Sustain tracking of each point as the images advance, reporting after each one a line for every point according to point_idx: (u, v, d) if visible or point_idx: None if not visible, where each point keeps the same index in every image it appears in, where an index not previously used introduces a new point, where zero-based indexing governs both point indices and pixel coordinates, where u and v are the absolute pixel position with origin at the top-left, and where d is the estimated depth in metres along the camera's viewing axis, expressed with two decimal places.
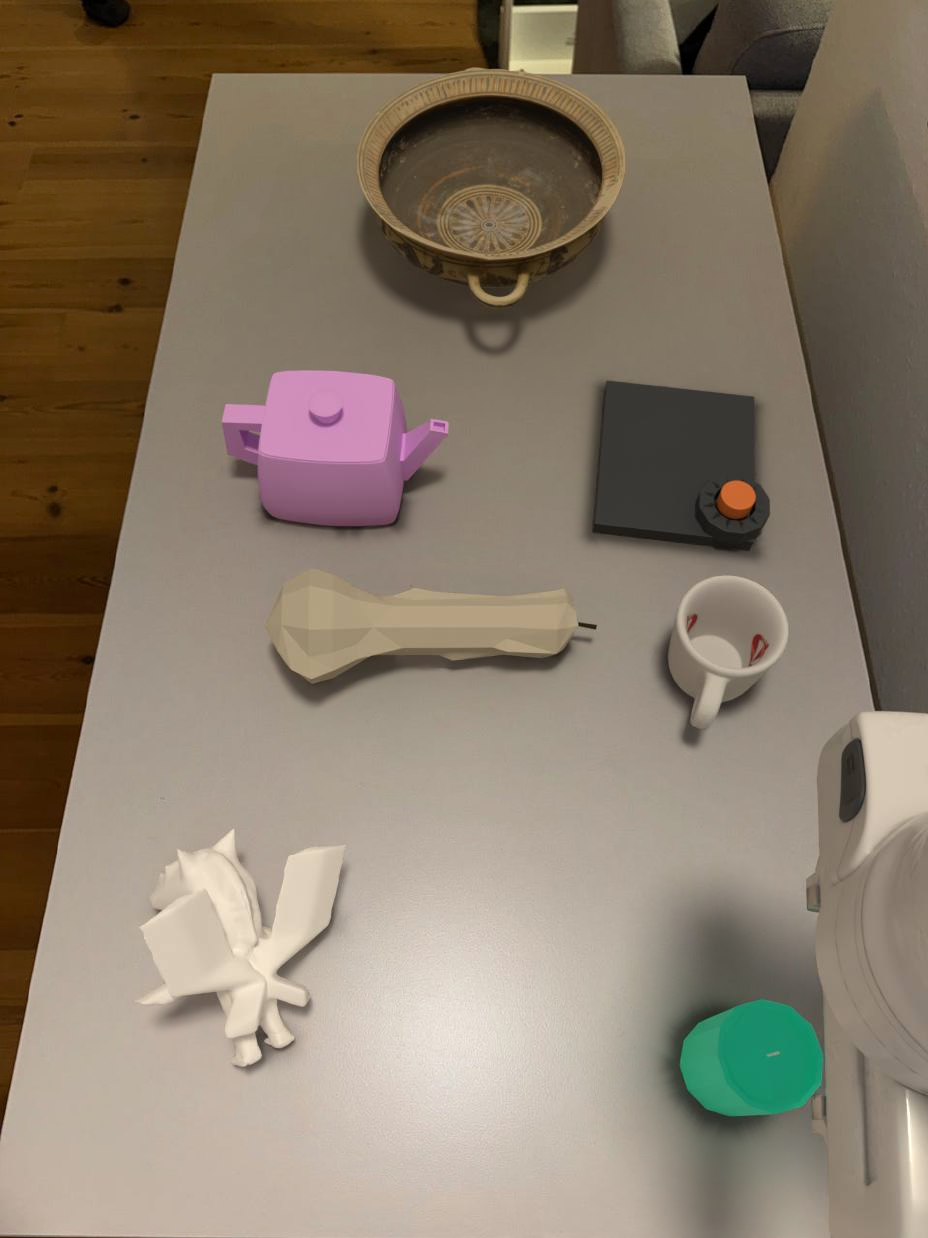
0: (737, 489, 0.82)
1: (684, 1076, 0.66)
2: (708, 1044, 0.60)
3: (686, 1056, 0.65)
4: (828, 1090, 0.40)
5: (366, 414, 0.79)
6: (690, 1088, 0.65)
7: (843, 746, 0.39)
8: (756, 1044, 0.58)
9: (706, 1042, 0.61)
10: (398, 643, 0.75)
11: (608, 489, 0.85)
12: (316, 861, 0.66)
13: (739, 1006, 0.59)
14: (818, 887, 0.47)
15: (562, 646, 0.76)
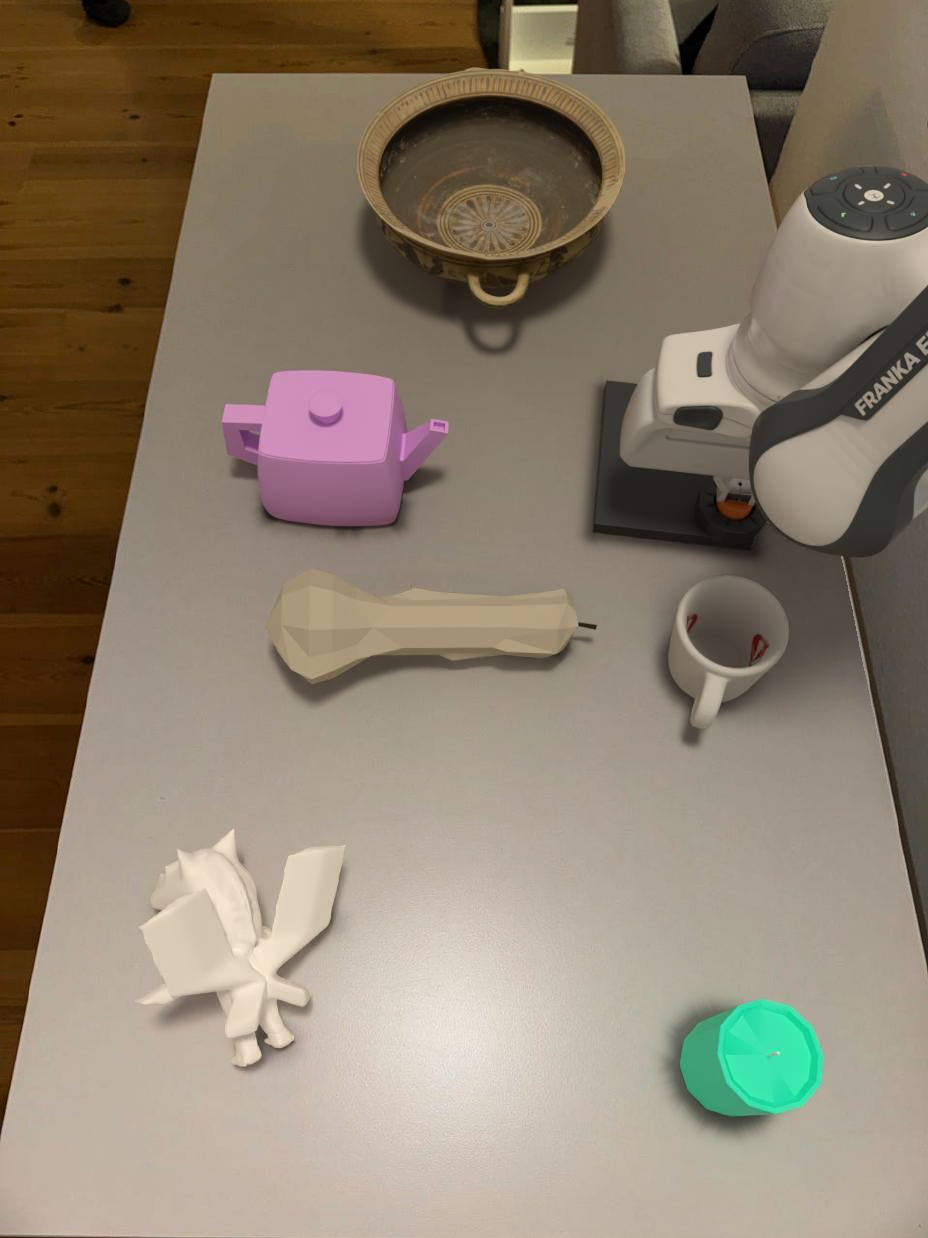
0: None
1: (684, 1076, 0.66)
2: (708, 1044, 0.60)
3: (686, 1056, 0.65)
4: None
5: (366, 414, 0.79)
6: (690, 1088, 0.65)
7: (669, 422, 0.70)
8: (756, 1044, 0.58)
9: (706, 1042, 0.61)
10: (398, 643, 0.75)
11: (608, 489, 0.85)
12: (316, 861, 0.66)
13: (739, 1006, 0.59)
14: (730, 491, 0.80)
15: (562, 646, 0.76)
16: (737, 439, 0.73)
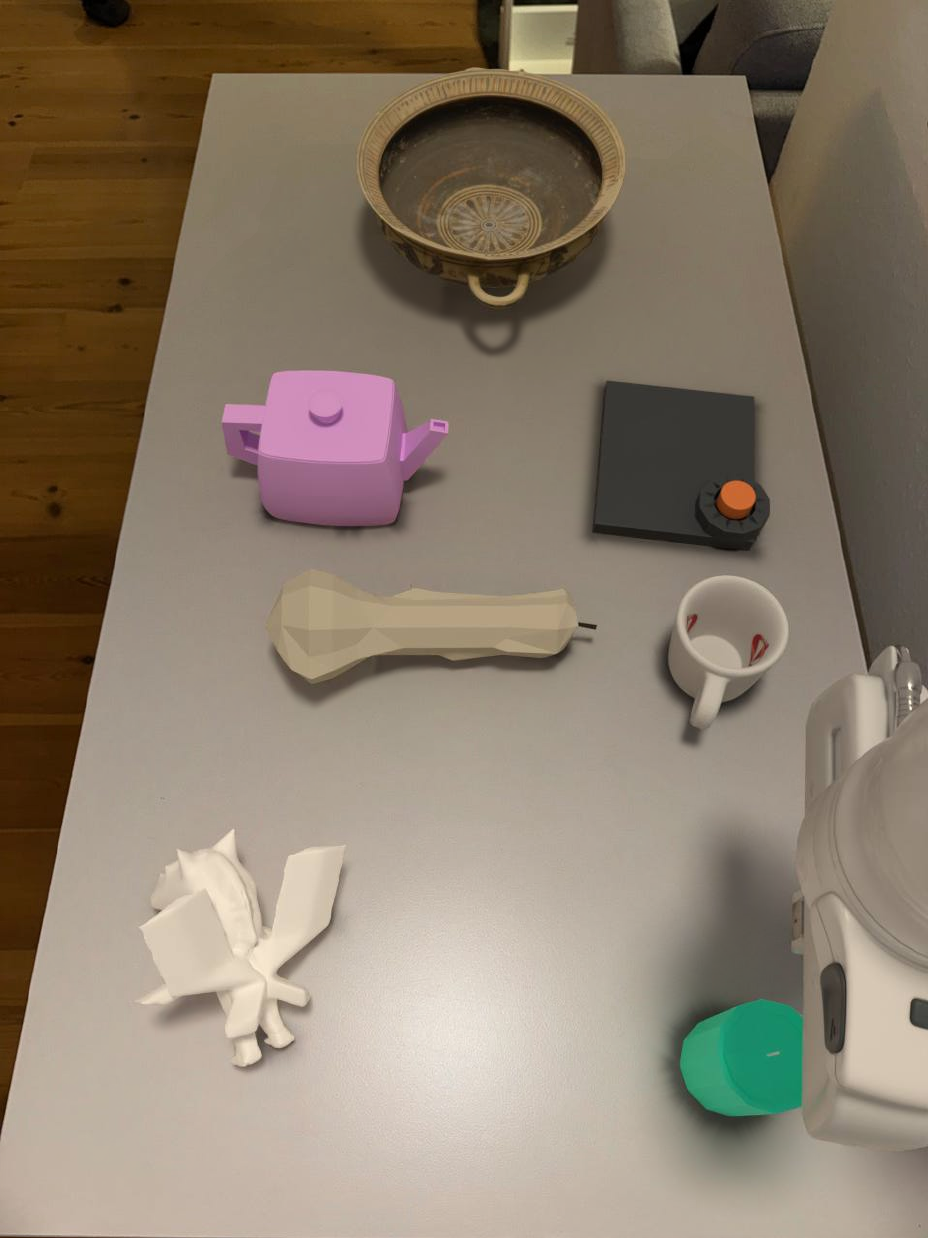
0: (737, 489, 0.82)
1: (684, 1076, 0.66)
2: (708, 1044, 0.60)
3: (686, 1056, 0.65)
4: None
5: (366, 414, 0.79)
6: (690, 1088, 0.65)
7: None
8: (756, 1044, 0.58)
9: (706, 1042, 0.61)
10: (398, 643, 0.75)
11: (608, 489, 0.85)
12: (316, 861, 0.66)
13: (739, 1006, 0.59)
14: None
15: (562, 646, 0.76)
16: None
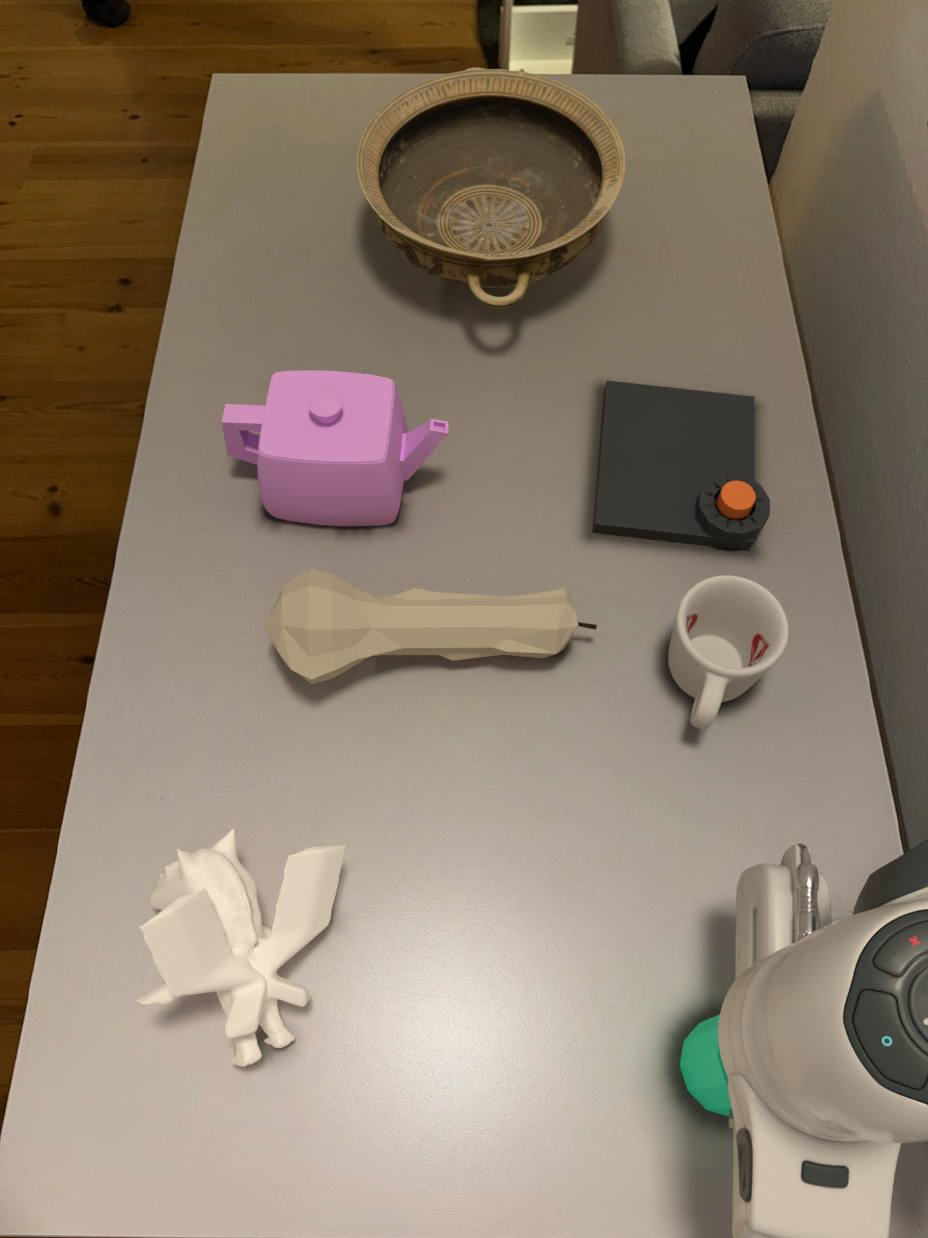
0: (737, 489, 0.82)
1: (684, 1076, 0.66)
2: (708, 1045, 0.60)
3: (686, 1056, 0.65)
4: None
5: (366, 414, 0.79)
6: (690, 1088, 0.65)
7: None
8: None
9: (706, 1043, 0.61)
10: (398, 643, 0.75)
11: (608, 489, 0.85)
12: (316, 861, 0.66)
13: None
14: None
15: (562, 646, 0.76)
16: None
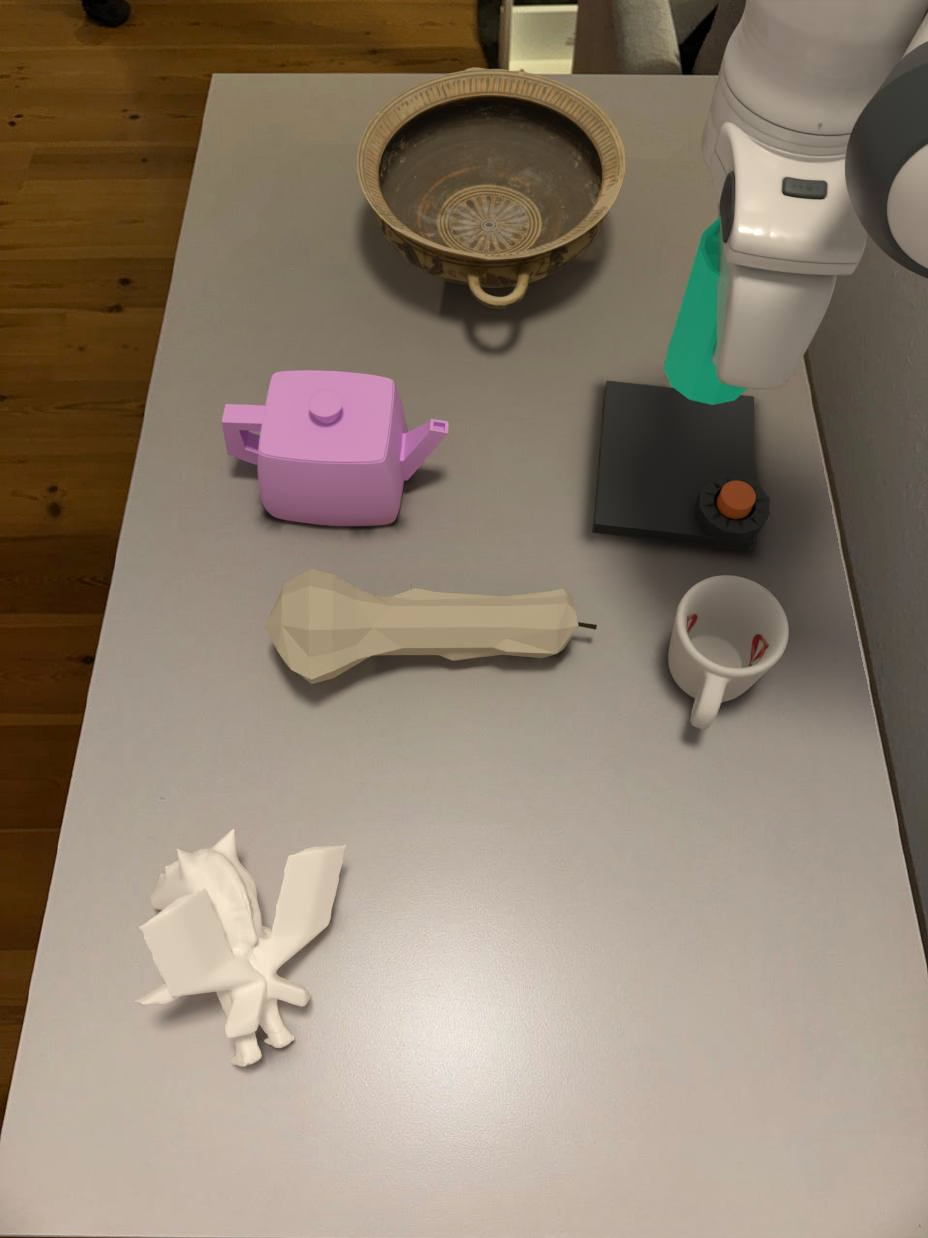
0: (737, 489, 0.82)
1: (668, 372, 0.68)
2: (691, 273, 0.62)
3: (670, 343, 0.67)
4: None
5: (366, 414, 0.79)
6: (674, 375, 0.67)
7: None
8: None
9: (689, 279, 0.63)
10: (398, 643, 0.75)
11: (608, 489, 0.85)
12: (316, 861, 0.66)
13: None
14: None
15: (562, 646, 0.76)
16: None
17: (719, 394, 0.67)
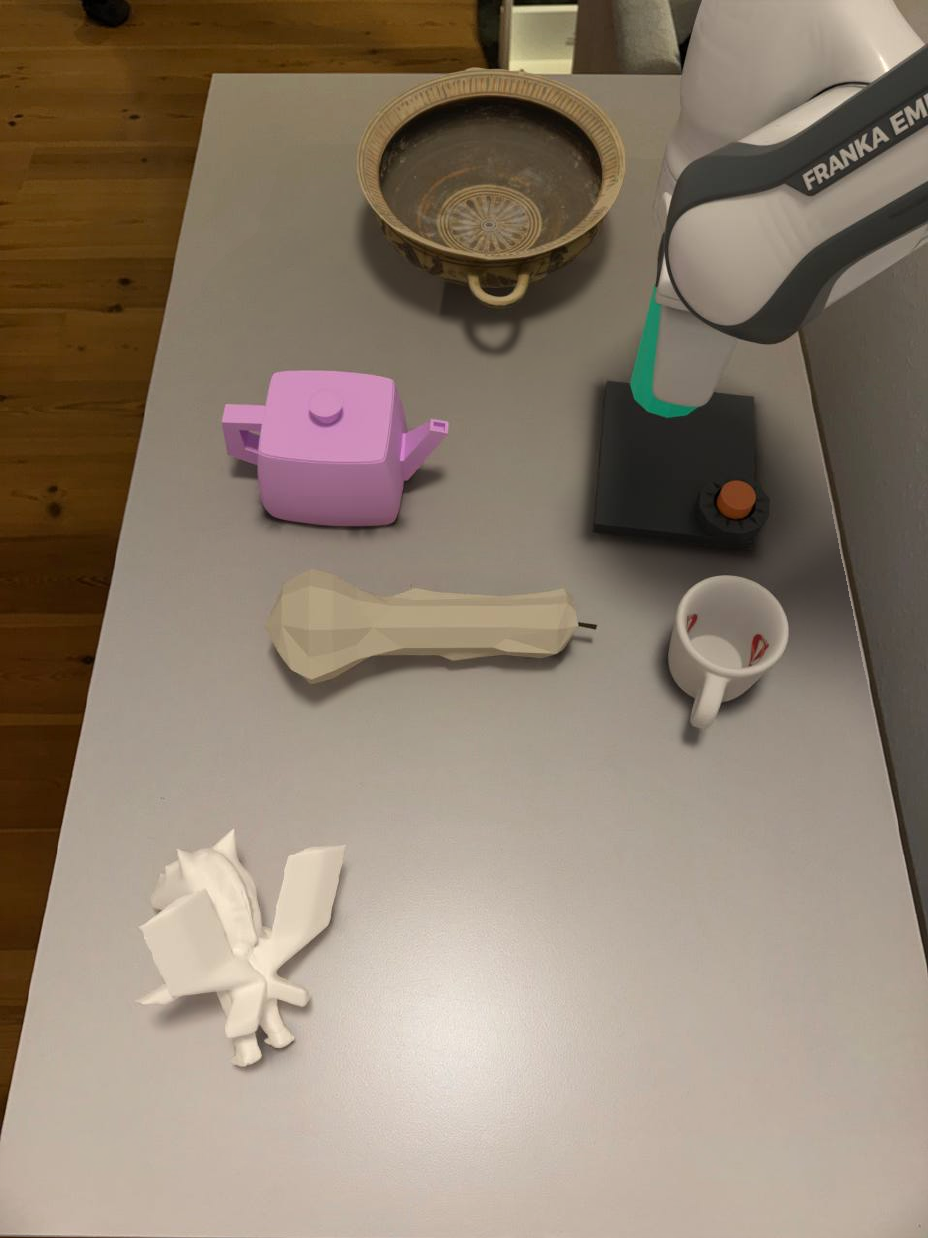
0: (737, 489, 0.82)
1: (632, 388, 0.81)
2: None
3: None
4: None
5: (366, 414, 0.79)
6: (636, 390, 0.80)
7: None
8: None
9: None
10: (398, 643, 0.75)
11: (608, 489, 0.85)
12: (316, 861, 0.66)
13: None
14: None
15: (562, 646, 0.76)
16: None
17: (672, 409, 0.79)
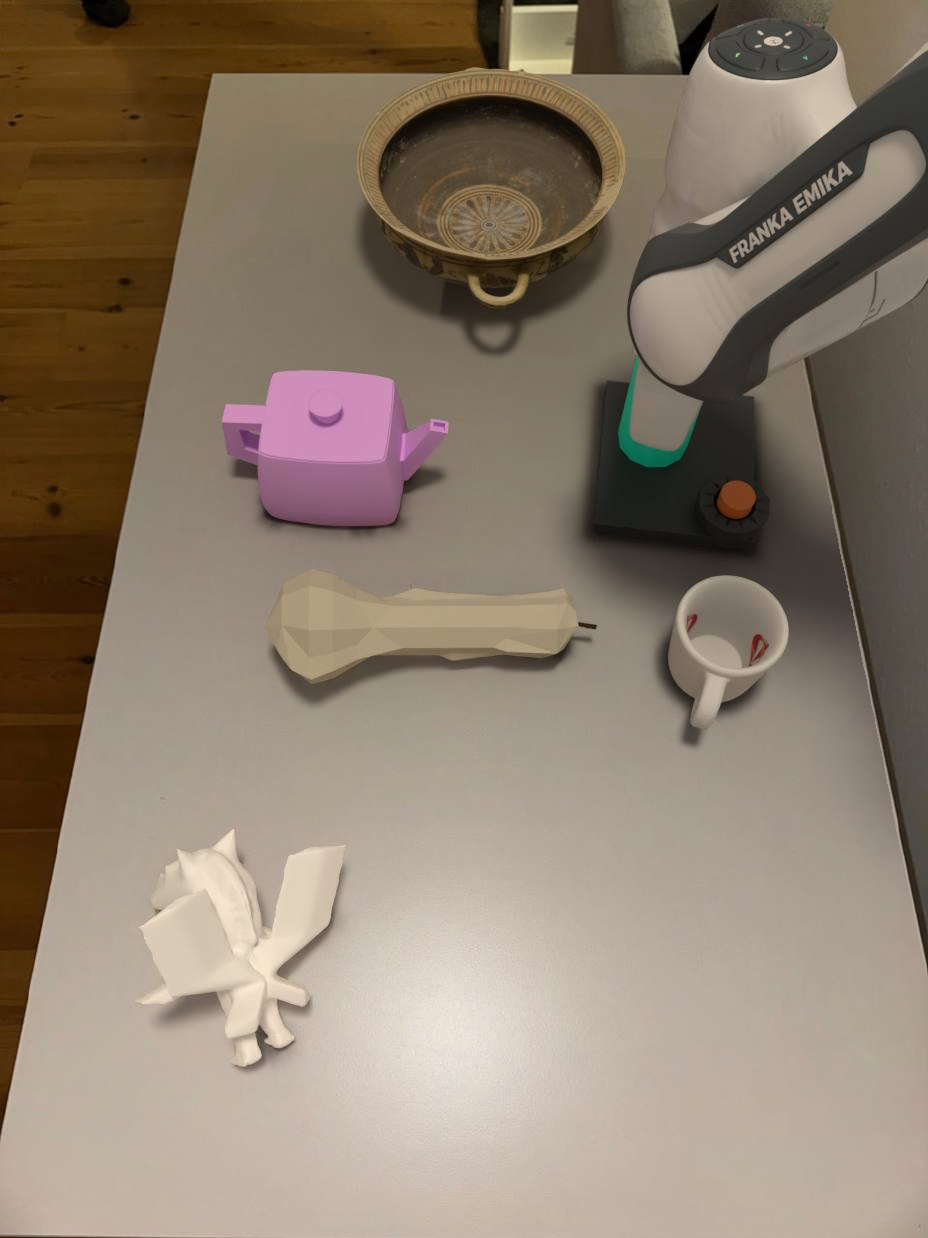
0: (737, 489, 0.82)
1: (619, 436, 0.87)
2: None
3: None
4: None
5: (366, 414, 0.79)
6: (621, 439, 0.86)
7: None
8: None
9: None
10: (398, 643, 0.75)
11: (608, 489, 0.85)
12: (316, 861, 0.66)
13: None
14: None
15: (562, 646, 0.76)
16: None
17: (651, 460, 0.85)
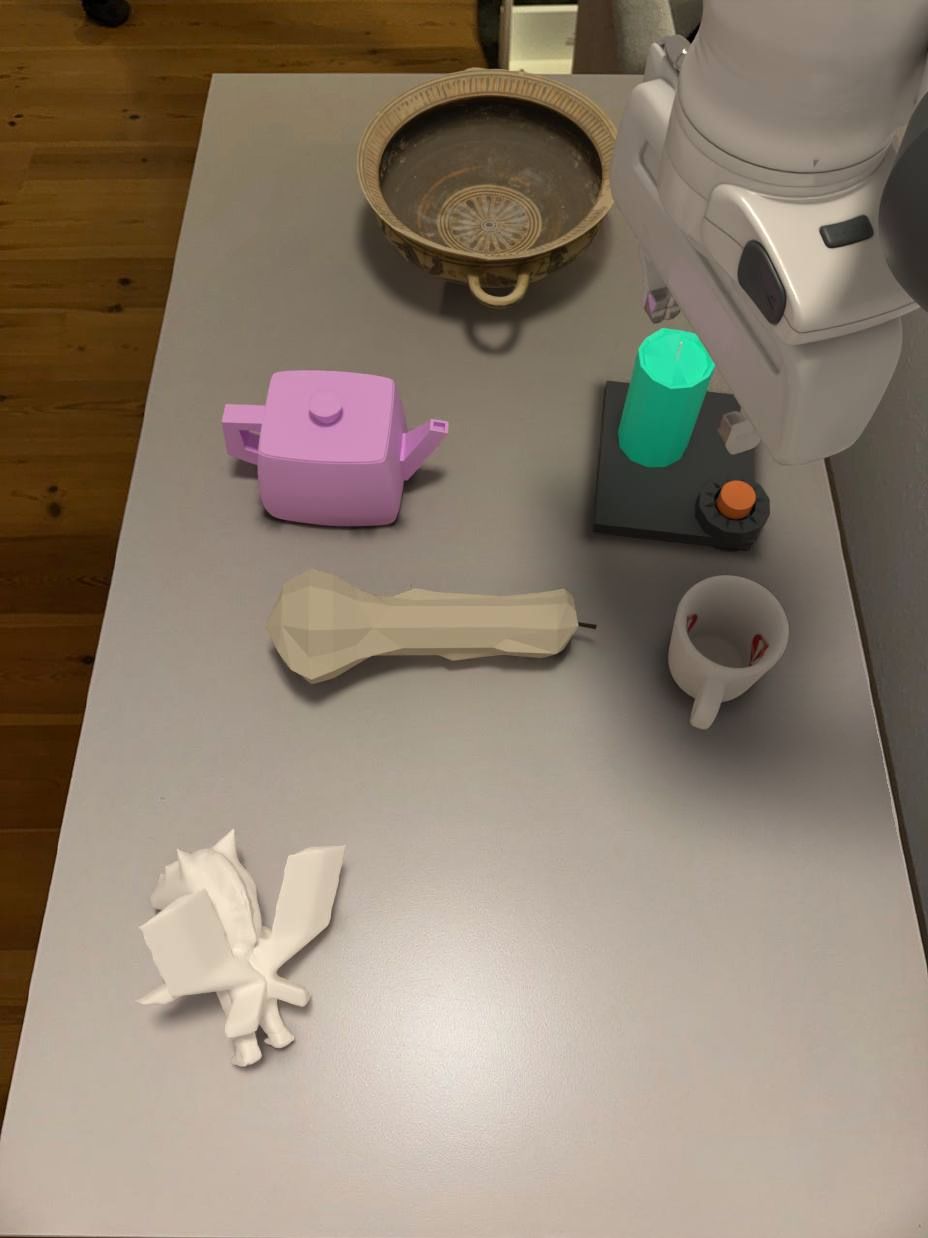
0: (737, 489, 0.82)
1: (619, 436, 0.87)
2: None
3: None
4: None
5: (366, 414, 0.79)
6: (621, 439, 0.86)
7: None
8: (669, 353, 0.79)
9: None
10: (398, 643, 0.75)
11: (608, 489, 0.85)
12: (316, 861, 0.66)
13: (663, 328, 0.80)
14: None
15: (562, 646, 0.76)
16: None
17: (651, 460, 0.85)
